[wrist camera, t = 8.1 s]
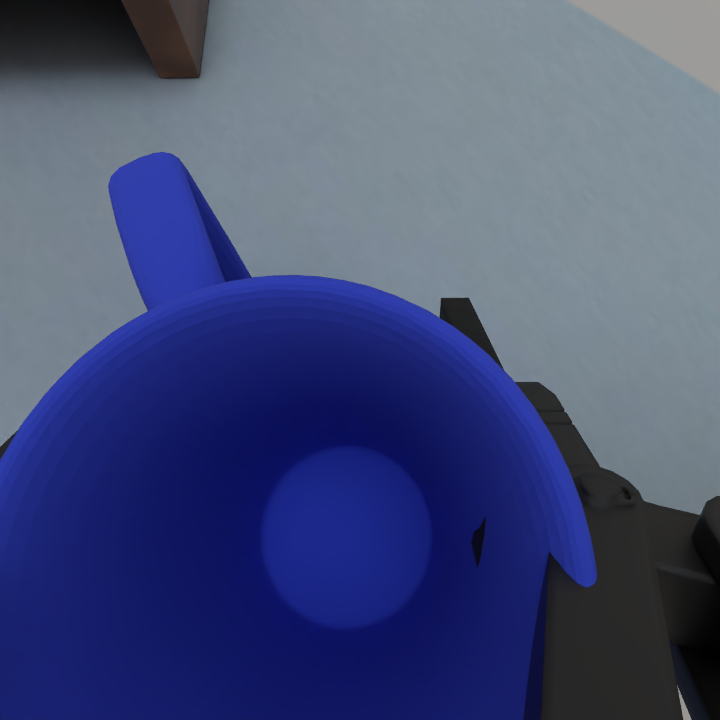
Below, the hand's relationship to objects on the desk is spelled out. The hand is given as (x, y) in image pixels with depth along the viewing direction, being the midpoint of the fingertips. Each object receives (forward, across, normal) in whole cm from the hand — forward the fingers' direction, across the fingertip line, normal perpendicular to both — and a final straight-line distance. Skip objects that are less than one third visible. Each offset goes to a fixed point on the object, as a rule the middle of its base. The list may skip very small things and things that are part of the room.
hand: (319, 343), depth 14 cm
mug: (0, 0, -5) cm, 5 cm away
